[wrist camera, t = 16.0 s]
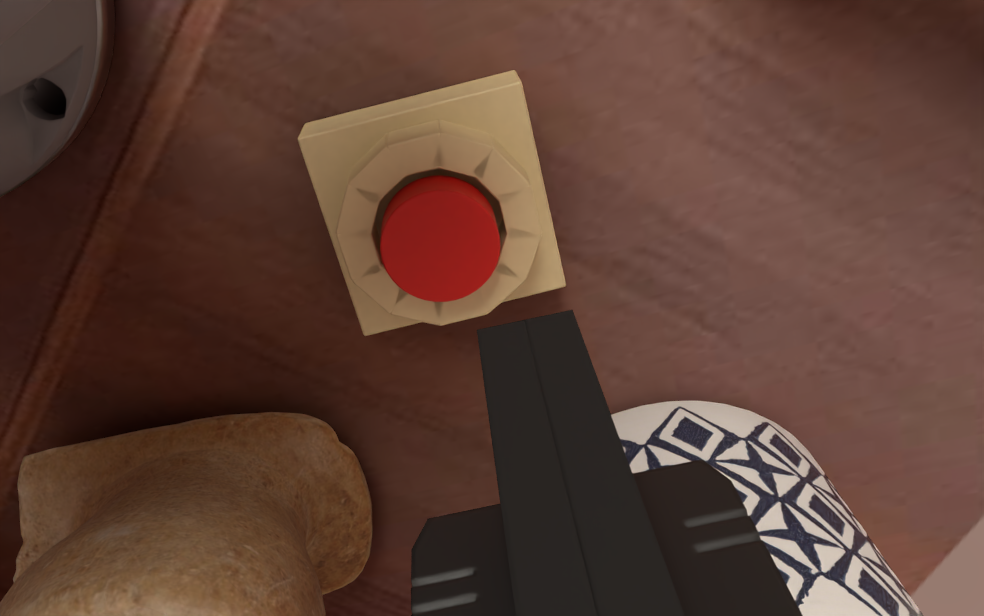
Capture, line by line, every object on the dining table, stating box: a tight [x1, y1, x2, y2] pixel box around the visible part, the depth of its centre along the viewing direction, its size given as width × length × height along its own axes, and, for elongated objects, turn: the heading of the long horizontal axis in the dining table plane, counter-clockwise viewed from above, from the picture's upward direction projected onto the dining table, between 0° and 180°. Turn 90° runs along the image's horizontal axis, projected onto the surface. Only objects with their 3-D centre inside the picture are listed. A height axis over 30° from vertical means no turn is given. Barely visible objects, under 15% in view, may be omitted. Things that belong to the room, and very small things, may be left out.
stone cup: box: [0, 412, 373, 616], centre depth 32 cm, size 15×12×15 cm
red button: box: [380, 175, 500, 302], centre depth 30 cm, size 4×4×2 cm
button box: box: [298, 70, 566, 336], centre depth 33 cm, size 8×8×4 cm
